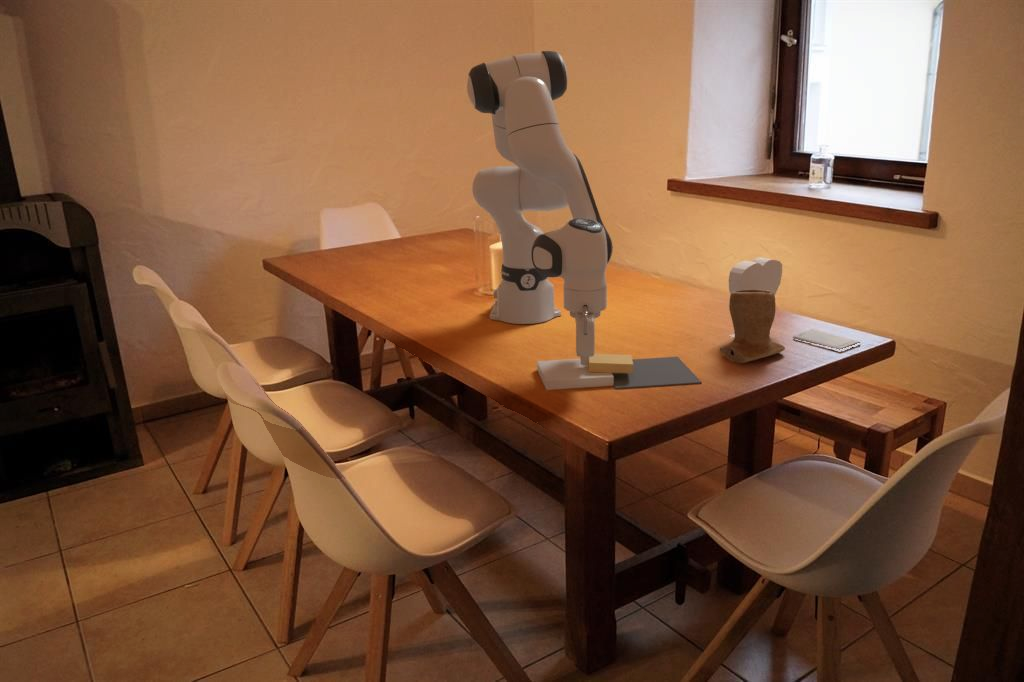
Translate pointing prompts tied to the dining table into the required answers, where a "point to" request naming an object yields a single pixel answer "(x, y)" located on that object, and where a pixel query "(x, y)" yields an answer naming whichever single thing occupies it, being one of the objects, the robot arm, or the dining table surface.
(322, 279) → the dining table surface
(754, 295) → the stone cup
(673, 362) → the mat
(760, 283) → the heart sculpture
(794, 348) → the dining table surface
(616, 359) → the yellow rectangular block
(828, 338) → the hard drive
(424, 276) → the dining table surface
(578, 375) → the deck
